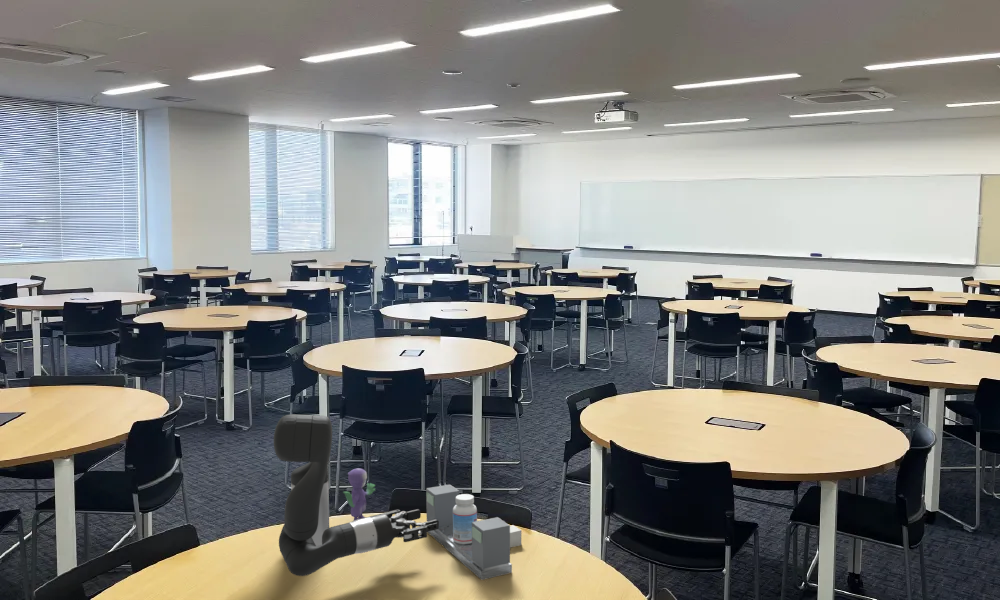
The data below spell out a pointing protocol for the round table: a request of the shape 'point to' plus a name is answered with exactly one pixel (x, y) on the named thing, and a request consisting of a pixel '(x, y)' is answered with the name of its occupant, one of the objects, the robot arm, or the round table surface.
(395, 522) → the robot arm
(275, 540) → the round table surface
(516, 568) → the round table surface
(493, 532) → the modules
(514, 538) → the box
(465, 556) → the rail
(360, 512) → the toy
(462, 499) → the pill bottle
